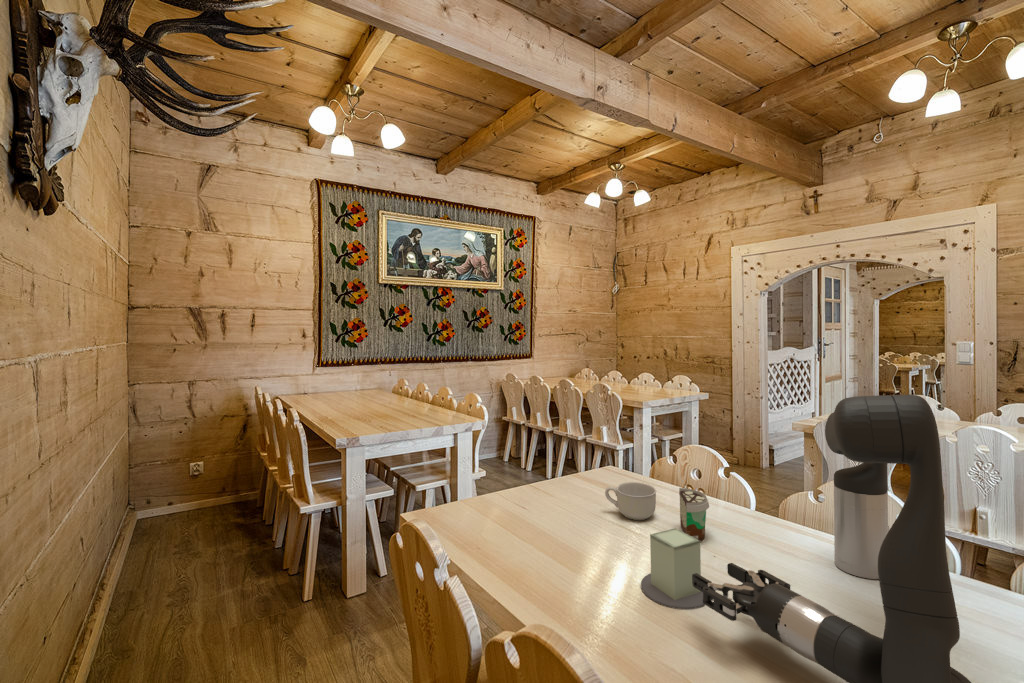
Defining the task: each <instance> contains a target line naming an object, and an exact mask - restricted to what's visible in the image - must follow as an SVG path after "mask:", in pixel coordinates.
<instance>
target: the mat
mask: <svg viewBox="0 0 1024 683" xmlns="http://www.w3.org/2000/svg"><path fill="white" fill-rule="evenodd" d="M640 588H641V591H642V592H643V594H644V595H645V596H646V597H647V598H648V599H650V600H651V601H653V602H655V603H657V604H659V605H660V606H661V605H662V606H665V607H667V608H673V609H679V610H694V609H699V608H702V607H704V606H705V605H704V604H703V592H699V593H696V594H693V595H690V596H686V597H683V598H680V599H677V600H674V599H672V598H671V597H669V596H668V595H667V594H665V593H664V592H662V591H661V590H659V589H658V588H657V587H655V586H654V585H652V584H651V572H650V573H647V575H645V576H643V577H642V579H641V582H640Z"/></svg>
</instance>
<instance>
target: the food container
mask: <svg viewBox="0 0 1024 683" xmlns="http://www.w3.org/2000/svg"><path fill="white" fill-rule="evenodd" d="M678 491H679V492H678V493H679V519H680V522H679V523H680V531H682V532H684V533H686V534H688V535H690V536H692V537H694V538H696V539H698V540H700V542H703V540H704V539H705V538H706V537H705V534H706V521H707V510H708V509H709V508H710V504H709V499H708V498H707V495H706V494H704V493H703V492H701V491H698V490H695V489H691V488H682V487H679V490H678Z"/></svg>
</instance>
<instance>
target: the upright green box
mask: <svg viewBox="0 0 1024 683" xmlns="http://www.w3.org/2000/svg"><path fill="white" fill-rule="evenodd" d="M649 546H650V573H651V584H652V585H654V586H655V587H657V588H658V589H659V590H661V591H662V592H664V593H665V594H667V595H668V596H669V597H671V598H672V599H674V600H677V599H680V598H683V597H686V596H690V595H693V594H696V593H699V592H701V591H700V590H698V589H697V588H695V587H694V586H693V584H692V574H695V573H697V574H699V575H701V576H702V572H701V562H702V561H701V541H700V540H698V539H696V538H694V537H692V536H690V535H688V534H686V533H684V532H682V530H681V529H678V528H676V527H675V528H672V529H671V528H670V529H667V530H663V531H658V532H655V533H654V532H653V533H650V544H649Z"/></svg>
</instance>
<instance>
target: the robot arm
mask: <svg viewBox="0 0 1024 683" xmlns="http://www.w3.org/2000/svg"><path fill="white" fill-rule="evenodd" d="M937 424H938V423H937V421H936V418H935V415H934V412H933V409H932V408H931V406H930V404H929V402H928V401H927V400H926V399H925V398H924V397H922V396H920V395H917V394H892V395H890V394H889V395H888V394H884V395H864V396H863V395H860V396H858V395H857V396H851V397H850V396H849V397H846V398H845V397H844V398H842V399H841V400H840V401H839V402H837V404H836V406H835V408H834V412H832V413H830V415H829V416H828V417H827V419H826V421H825V429H824V436H825V441H826V445H827V447H828V448H829V449H830V450H831V452H833V453H835V454H838V455H842V456H844V457H846V459H848V460H850V461H853V462H856V463H861V464H858V465H854V466H850V467H846V468H840V469H837V470H836V471H835V472H834V474H833V525H834V527H833V530H834V531H833V532H834V536H833V537H834V542H833V543H834V544H833V545H834V547H833V548H834V565H835V566H836V567H837V568H838V569H840V570H841V571H843V572H845V573H847V574H849V575H850V574H851V575H852V576H856V577H859V578H864V579H869V580H878V581H879V588H880V593H881V594H880V595H881V602H882V607H883V613H884V618H885V623H884V630H883V636H882V637H879V636H876V635H874V634H873V633H870V632H868V631H867V630H865V629H864V628H862V627H860V626H858V625H856V624H854V623H852V622H850V621H848V620H846V619H844V618H842V617H840V616H838V615H836V614H835V613H833V612H832V611H830V610H828V609H827V608H826V607H824V606H823V605H821V604H819V603H818V602H815V601H813V600H811V599H810V598H807V597H805V596H803V595H801V594H799V593H797V592H795V591H793V590H791V584H790V583H788V582H786V581H784V580H783V579H781V578H778V577H777V576H775V575H773V574H772V573H769V572H768V571H766V570H763V569H758V570H757V572H755V571H754V570H747V569H746V568H743V567H740V565H737V564H735V563H733V562H729V563H727V567H726V568H727V575H728V576H729V577H731V578H733V579H734V580H736V581H738V582H740V583H742V584H733V583H728V582H724V583H723V584H719V583H715V582H712V581H711V580H710V579H708V578H705V576H703V575H702V574H701V575H699V574H697V573H695V574H692V584H693V586H694V587H695V588H697V589H698V590H700V591H701V592H703V604H704V606H706V607H708V608H710V609H711V610H712V611H714V612H715V613H717V614H720V615H722V616H723V617H725V618H726V619H727V620H730V621H732V622H735V621H737V616H738V615H739V614H743V615H746V616H749V617H751V618H753V620H754V622H755V623H756V624H757V625H756V626H758V627H759V629H760V630H761V631H762V632H763V633H765V634H766V635H768V636H770V637H772V638H773V639H774V640H776V641H778V642H779V643H781V644H783V645H784V646H786V647H787V648H789V649H791V650H792V651H793V652H795V653H797V654H798V655H800V656H802V657H803V658H804V659H805V658H806V660H807V659H808V660H810V661H811V662H813V663H816V664H817V665H819V666H821V667H822V668H824V669H826V670H827V671H829V672H830V673H832V674H834V675H836V676H837V677H839V678H840V679H841V680H843V681H845V682H847V683H973V682H972V681H971V680H969V679H968V678H967V677H966V676H965V675H964V674H962V673H961V672H960V671H958V670H957V669H955V668H954V667H952V666H951V650H952V649H953V647H954V646H956V645H957V643H958V642H959V640H960V637H961V634H960V633H961V629H960V623H959V622H960V621H959V617H958V612H957V607H956V602H955V596H954V592H953V586H952V582H951V576H950V569H949V562H948V556H947V555H948V552H947V542H946V540H947V539H946V522H945V521H946V518H945V517H946V515H945V512H946V511H945V498H944V497H945V496H944V495H945V494H944V483H943V482H944V481H943V469H942V456H941V455H942V454H941V443H940V435H939V429H938V425H937ZM889 464H891V465H892V464H895V465H896V464H897V465H899V464H903V465H908V466H909V470H910V471H909V472H910V483H909V490H908V494H907V496H906V500H905V501H904V504H903V506H902V507H901V510H900V511H899V513H898V515H897V517H896V518H895V521H894V522H893V524H892V525H891V527H890V526H889V498H888V497H889V495H888V493H889V492H888V490H889V487H888V480H889V479H888V465H889ZM766 580H767V581H768V582H766ZM718 591H719V592H722V594H721V593H719V592H718ZM730 591H732V598H730V597H729V592H730Z"/></svg>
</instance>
